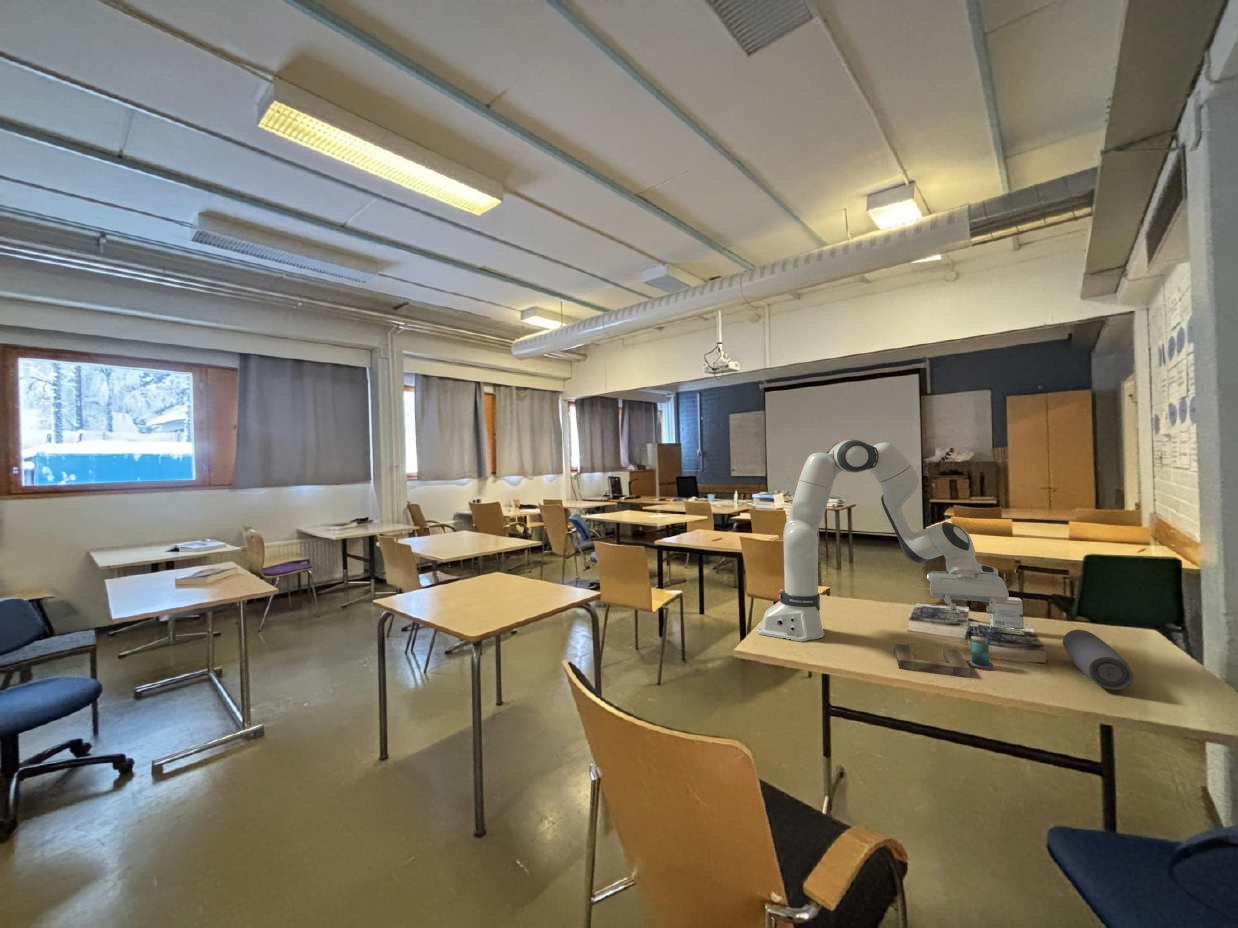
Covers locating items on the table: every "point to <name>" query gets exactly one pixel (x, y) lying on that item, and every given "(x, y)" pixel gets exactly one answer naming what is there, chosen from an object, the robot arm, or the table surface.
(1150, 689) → the table surface
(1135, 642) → the table surface
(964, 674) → the notched board
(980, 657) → the bobbin
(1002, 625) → the ink box
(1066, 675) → the table surface
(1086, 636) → the bluetooth speaker
